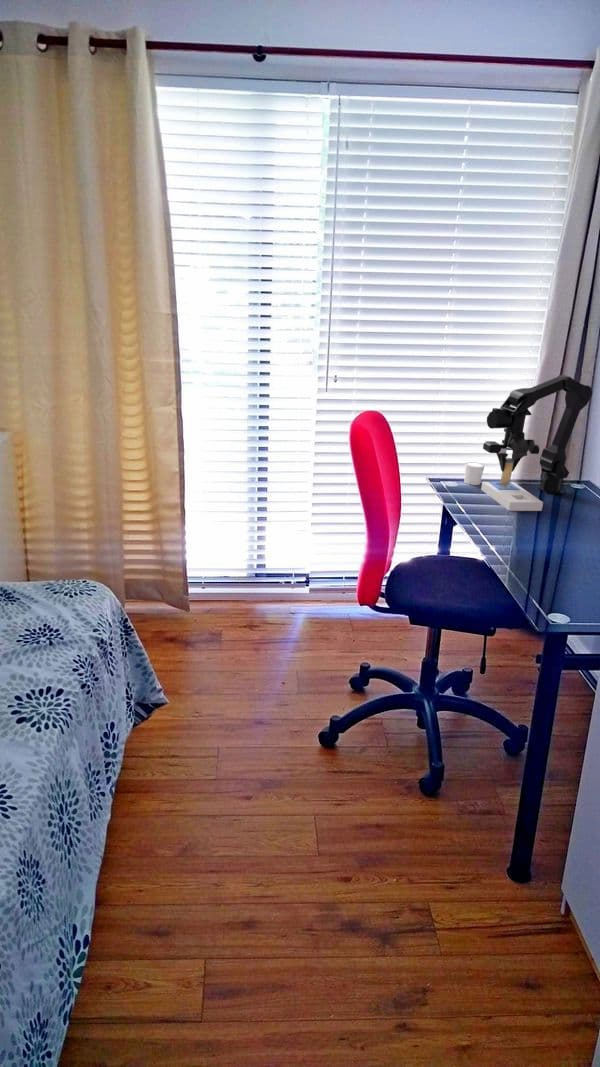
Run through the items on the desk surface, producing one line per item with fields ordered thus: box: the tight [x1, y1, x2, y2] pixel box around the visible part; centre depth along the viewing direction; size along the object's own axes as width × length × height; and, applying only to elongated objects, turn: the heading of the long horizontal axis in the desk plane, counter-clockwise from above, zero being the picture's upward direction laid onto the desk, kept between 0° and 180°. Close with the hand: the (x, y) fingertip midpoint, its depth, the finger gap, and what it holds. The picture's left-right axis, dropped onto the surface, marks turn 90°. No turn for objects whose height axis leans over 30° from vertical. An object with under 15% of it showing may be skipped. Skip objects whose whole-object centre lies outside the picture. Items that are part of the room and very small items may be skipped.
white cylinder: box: [463, 461, 485, 486], centre depth 285 cm, size 7×7×7 cm
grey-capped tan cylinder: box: [499, 457, 514, 485], centre depth 272 cm, size 3×3×9 cm
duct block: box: [480, 481, 544, 512], centre depth 269 cm, size 12×22×3 cm, turn 12°
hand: (507, 471), depth 272 cm, fingers closed on grey-capped tan cylinder, 3 cm apart
